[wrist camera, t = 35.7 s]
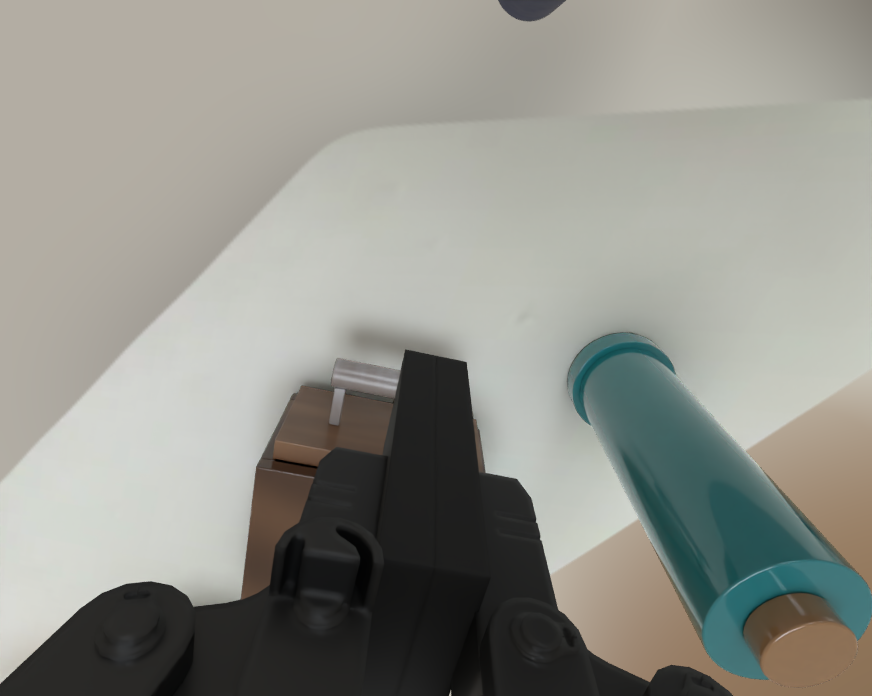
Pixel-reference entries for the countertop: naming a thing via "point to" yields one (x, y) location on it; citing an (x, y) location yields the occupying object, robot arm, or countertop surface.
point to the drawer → (341, 416)
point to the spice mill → (720, 523)
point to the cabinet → (275, 510)
